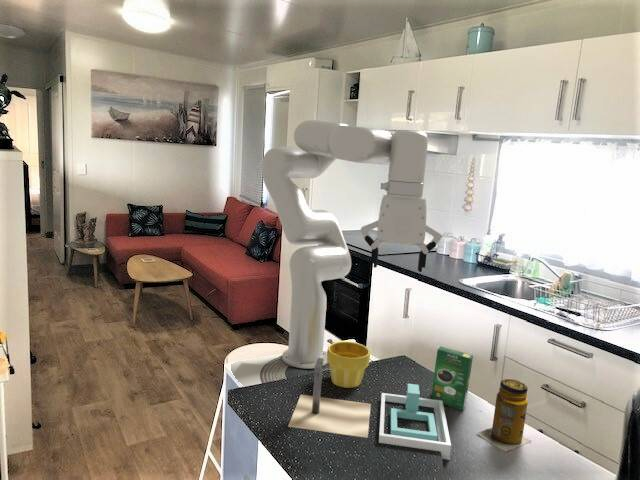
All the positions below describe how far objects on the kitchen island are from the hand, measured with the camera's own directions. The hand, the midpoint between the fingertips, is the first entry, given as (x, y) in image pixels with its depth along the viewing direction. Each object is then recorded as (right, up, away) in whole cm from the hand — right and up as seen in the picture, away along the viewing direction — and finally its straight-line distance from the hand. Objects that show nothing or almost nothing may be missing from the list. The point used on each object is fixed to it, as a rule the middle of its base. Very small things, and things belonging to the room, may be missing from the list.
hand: (397, 268), depth 109 cm
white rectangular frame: (+2, -34, -4) cm, 34 cm away
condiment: (+21, -35, -5) cm, 42 cm away
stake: (-18, -31, -3) cm, 35 cm away
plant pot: (-11, -30, +14) cm, 35 cm away
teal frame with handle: (+2, -33, -4) cm, 33 cm away
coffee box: (+13, -33, +8) cm, 36 cm away
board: (-14, -32, -3) cm, 36 cm away
